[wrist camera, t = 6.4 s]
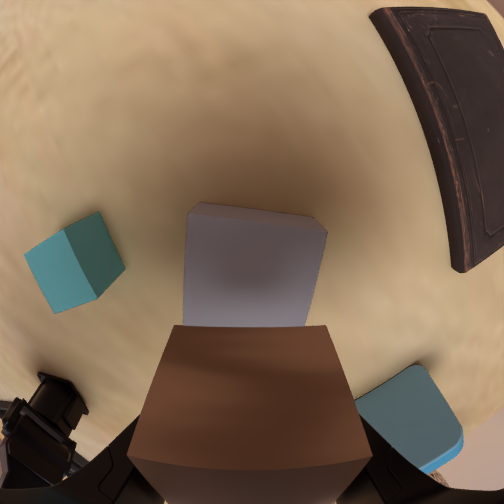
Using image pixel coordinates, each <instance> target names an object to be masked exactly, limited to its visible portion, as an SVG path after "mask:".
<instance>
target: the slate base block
mask: <svg viewBox="0 0 504 504" xmlns="http://www.w3.org/2000/svg"><path fill="white" fill-rule="evenodd" d="M327 233H328V232H327V231H326V230H325V228H324V227H323V226H322V225H321V224H320V223H319V222H318V221H317V220H316V219H315V218H314V217H307V216H301V215H294V214H287V213H280V212H273V211H265V210H258V209H250V208H242V207H234V206H226V205H217V204H208V203H198V204H197V205H196V206H195V207H194V208H193V209H192V210H191V211H190V212H189V213H188V215H187V229H186V246H185V266H184V295H183V326H207V327H298V326H305V323H306V319H307V316H308V312H309V308H310V305H311V301H312V297H313V293H314V289H315V285H316V281H317V277H318V273H319V269H320V264H321V260H322V256H323V251H324V247H325V242H326V238H327Z"/></svg>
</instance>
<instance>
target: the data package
mask: <svg viewBox="0 0 504 504" xmlns="http://www.w3.org/2000/svg"><path fill="white" fill-rule="evenodd" d="M354 402H355V405H356V407H357V410H358V413H359V414H360V415H361V416H362V417H363V418H364V419H365V420H366V421H367V422H368V423H369V424H370V425H371V426H372V427H373V428H374V429H375V430H376V431H377V432H378V433H379V434H380V435H381V436H382V437H383V438H384V439H385V440H386V441H387V442H388V443H389V444H391V445H392V447H394V448H395V449H396V450H397V451H398V452H399V453H400V454H401V455H402V456H403V457H405V458H406V459H407V460H408V461H409V462H410V463H412V464H413V465H414V466H416V467H417V468H418V469H420V470H421V471H423V472H424V473H426V474H429V473H431V472H432V471H434V470H436V469H437V468H439V467H440V466H442V465H444V464H445V463H447V462H448V461H450V460H451V459H453V458H454V457H455V456H457V455H458V454H459V452H460V451H461V449H462V447H463V442H464V441H463V429H462V426H461V425H460V423H459V421H458V419H457V418H456V416H455V414H454V413H453V411H452V410H451V408H450V406H449V405H448V403H447V401H446V400H445V398H444V397H443V395H442V394H441V392H440V390H439V389H438V387H437V386H436V384H435V383H434V381H433V380H432V378H431V377H430V375H429V374H428V372H427V371H426V369H425V368H424V367H423V366H420V365H413V366H410V367H408V368H406V369H405V370H404V371H402V372H401V373H399V374H398V375H396V376H395V377H393V378H392V379H390V380H388V381H387V382H385V383H384V384H382V385H381V386H379V387H377V388H376V389H374V390H372V391H371V392H369V393H367V394H366V395H364V396H362V397H360V398H359V399H357V400H355V401H354Z"/></svg>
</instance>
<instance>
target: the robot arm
mask: <svg viewBox="0 0 504 504" xmlns="http://www.w3.org/2000/svg"><path fill="white" fill-rule="evenodd" d="M37 376H38V378H39V379H40V381H41V384H40V386H39V387H38V389H37V390H36V391H35V393H34V394H33V396H32V397H31V399H30V400H29V402H28V403H27V401H26V400H25V399H24V398H23V399H22V400H21V399H19V398H17V397H16V398H15V399H14V401H13V402H12V404H11V405H10V407H9V408H8V410H7V412H6V413H5V415H4V417H3V419H2V423H3V427H2V428H3V429H2V432H1V433H2V434H3V435H4V436H5V437H4V439H3V441H2V443H1V445H0V461H1V466H2V472H3V473H2V475H1V478H0V504H164V501H165V500H164V498H163V497H162V496H161V495H160V494H159V493H158V492H157V491H156V490H155V489H154V488H153V487H152V485H151V484H150V483H149V482H148V481H147V480H146V479H145V477H144V476H143V475H142V474H141V473H140V471H139V470H138V469H137V468H136V466H135V465H134V464H133V463H132V461H131V460H130V459H129V458H128V456H127V452H128V449H129V446H130V443H131V440H132V437H133V434H134V431H135V428H136V425H137V423H138V420H139V417H140V415H139V416H138V417H137V418H136V419H135V420H134V421H133V422H132V423H131V424H130V425H129V426H128V427H126V428H125V429H124V430H123V431H122V432H121V433H120V434H119V435H118V436H117V437H116V438H115V439H114V440H113V441H112V442H111V443H110V444H109V445H108V446H107V447H106V448H105V449H104V450H103V451H102V452H100V453H99V454H98V455H97V456H96V457H95V458H94V459H93V460H91V461H90V462H89V463H87V464H86V465H85V466H83V467H82V468H81V469H79V470H78V471H76V472H75V473H73V474H72V475H70V476H69V477H68V478H66V479H65V480H63V481H62V479H63V478H64V477H65V476H66V475H67V473H68V472H69V470H70V467H71V464H72V460H73V456H74V452H75V448H76V444H77V443H76V442H75V441H72V440H71V439H70V438H69V436H70V433H71V431H72V429H73V430H75V429H76V426H77V424H78V422H79V420H80V418H81V416H82V414H85V415H88V413H89V412H88V410H87V408H86V407H85V405H84V403H83V402H82V400H81V398H80V396H79V395H78V393H77V391H76V389H75V388H74V386H73V384H72V383H71V382H69V381H66V380H63V379H60V378H56V377H53V376H50V375H47V374H44V373H41V372H38V374H37ZM19 413H21V414H22V415H19ZM359 416H360V419H361V422H362V425H363V428H364V431H365V434H366V437H367V440H368V443H369V446H370V449H371V452H372V455H373V456H372V457H371V459H370V460H369V461H368V463H367V464H366V465H365V467H364V468H363V469H362V470H361V472H360V473H359V474H358V475H357V476H356V478H355V479H354V480H353V481H352V482H351V484H350V485H349V486H348V487H347V488H346V489H345V490H344V491H343V493H342V494H341V495H340V496H339V497H338V498H337V499H336V504H504V488H503V489H501V490H496V491H482V490H465V489H455V488H450V487H447V486H444V485H442V484H441V483H439V482H437V481H436V480H434V479H433V478H431V477H430V476H428V475H427V474H426V473H424V472H423V471H421V470H420V469H418V468H417V467H416V466H414V465H413V464H412V463H410V462H409V461H408V460H407V459H406V458H405V457H403V456H402V455H401V454H400V453H399V452H398V451H397V450H396V449H395V448H394V447H392V445H391V444H389V443H388V442H387V441H386V440H385V439H384V438H383V437H382V436H381V435H380V434H379V433H378V432H377V431H376V430H375V429H374V428H373V427H372V426H371V425H370V424H369V423H368V422H367V421H366V420H365V419H364V418H363V417H362V416H361V415H360V414H359Z"/></svg>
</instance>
